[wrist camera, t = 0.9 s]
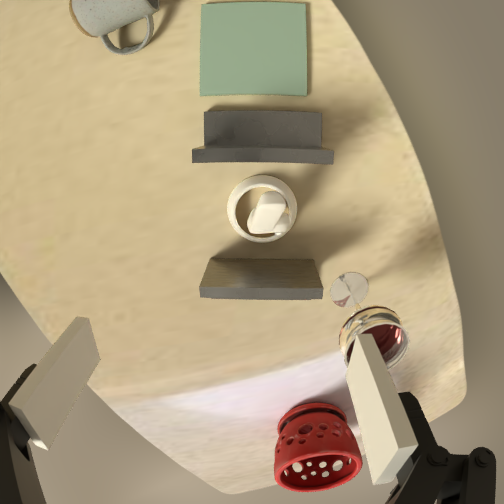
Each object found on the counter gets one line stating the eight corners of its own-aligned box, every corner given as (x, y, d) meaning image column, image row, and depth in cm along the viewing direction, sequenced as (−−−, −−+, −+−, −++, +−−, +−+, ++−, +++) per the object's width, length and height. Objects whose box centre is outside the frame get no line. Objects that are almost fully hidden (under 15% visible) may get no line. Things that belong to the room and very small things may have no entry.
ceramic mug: (91, 3, 25) (59, -15, 18) (151, -28, 24) (128, -54, 17) (109, 69, 29) (75, 60, 22) (173, 39, 28) (151, 19, 21)
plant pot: (356, 425, 48) (369, 478, 37) (288, 445, 51) (291, 498, 40) (339, 382, 44) (354, 444, 33) (260, 407, 47) (259, 468, 35)
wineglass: (320, 313, 39) (337, 378, 28) (326, 264, 37) (350, 322, 26) (369, 312, 39) (399, 374, 28) (379, 265, 37) (418, 319, 26)
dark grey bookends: (205, 112, 31) (191, 108, 24) (320, 113, 31) (334, 109, 24) (212, 294, 39) (202, 327, 32) (310, 295, 39) (318, 328, 32)
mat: (202, 6, 26) (201, 4, 26) (304, 5, 26) (305, 3, 25) (200, 96, 30) (199, 95, 30) (306, 96, 30) (307, 95, 29)
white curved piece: (308, 131, 27) (331, 201, 25) (284, 188, 38) (298, 242, 37) (224, 139, 26) (239, 215, 24) (223, 197, 37) (234, 253, 36)
